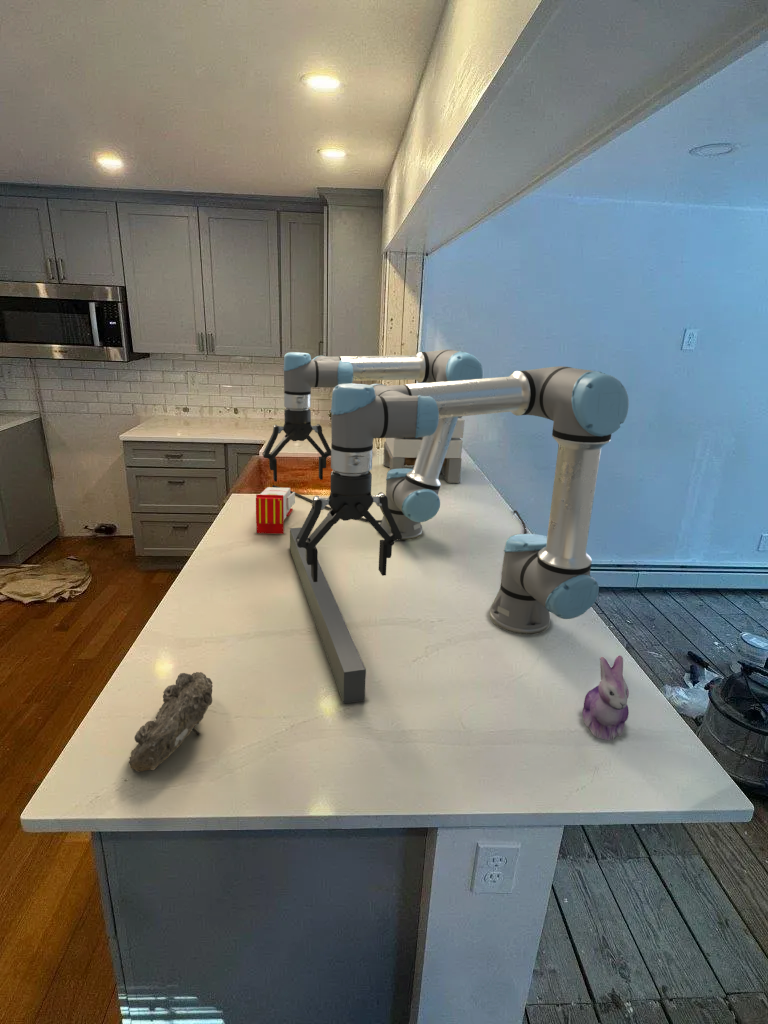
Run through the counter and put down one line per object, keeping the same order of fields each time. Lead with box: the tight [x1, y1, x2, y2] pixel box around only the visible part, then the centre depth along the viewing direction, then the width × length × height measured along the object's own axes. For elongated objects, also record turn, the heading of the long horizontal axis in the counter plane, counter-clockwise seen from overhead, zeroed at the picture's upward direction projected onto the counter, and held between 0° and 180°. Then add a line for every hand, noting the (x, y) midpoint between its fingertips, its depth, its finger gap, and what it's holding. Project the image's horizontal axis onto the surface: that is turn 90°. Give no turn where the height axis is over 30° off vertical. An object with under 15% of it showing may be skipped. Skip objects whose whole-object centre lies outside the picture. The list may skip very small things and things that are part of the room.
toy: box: [255, 486, 296, 535], centre depth 206 cm, size 12×13×30 cm
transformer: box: [383, 416, 465, 484], centre depth 268 cm, size 34×33×41 cm
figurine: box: [581, 654, 630, 741], centre depth 108 cm, size 9×10×15 cm
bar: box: [289, 526, 367, 705], centre depth 148 cm, size 78×4×8 cm, turn 17°
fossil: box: [128, 671, 213, 773], centre depth 102 cm, size 22×10×15 cm
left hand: (298, 479), depth 170 cm, fingers open, 13 cm apart
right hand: (348, 575), depth 111 cm, fingers open, 13 cm apart
